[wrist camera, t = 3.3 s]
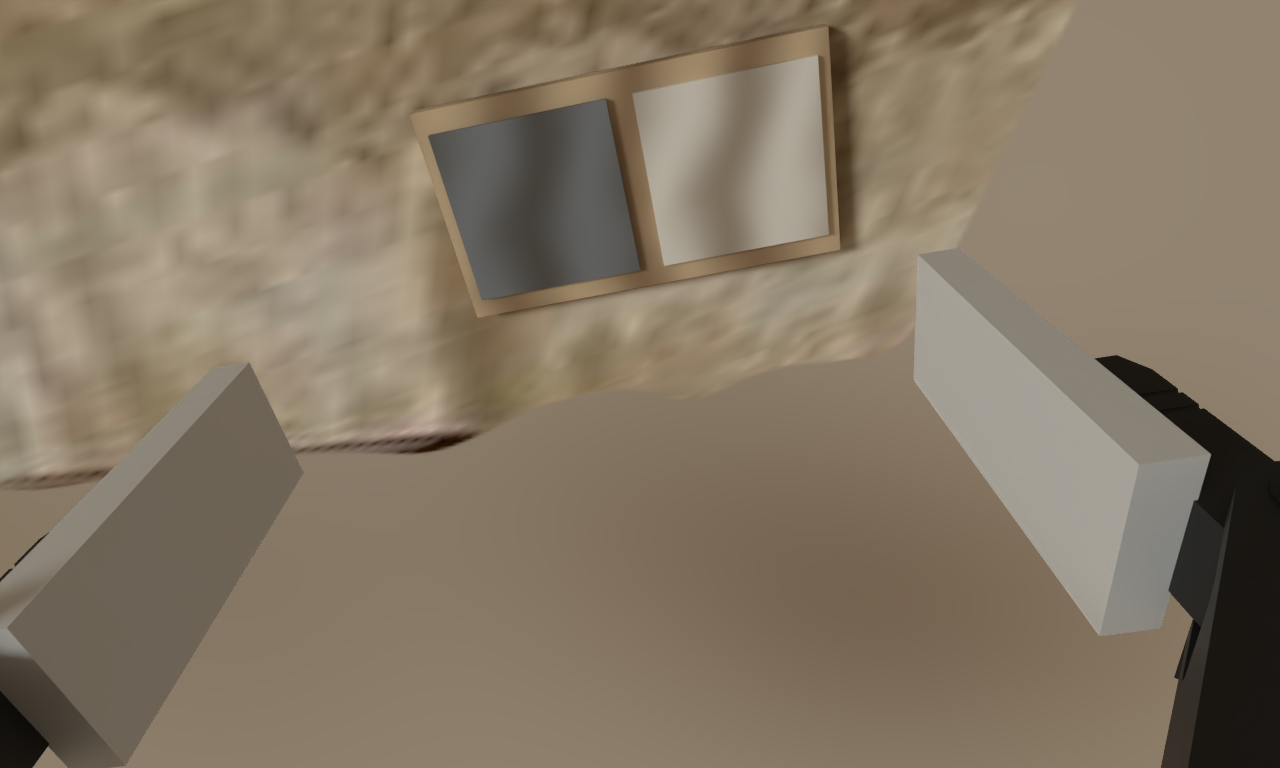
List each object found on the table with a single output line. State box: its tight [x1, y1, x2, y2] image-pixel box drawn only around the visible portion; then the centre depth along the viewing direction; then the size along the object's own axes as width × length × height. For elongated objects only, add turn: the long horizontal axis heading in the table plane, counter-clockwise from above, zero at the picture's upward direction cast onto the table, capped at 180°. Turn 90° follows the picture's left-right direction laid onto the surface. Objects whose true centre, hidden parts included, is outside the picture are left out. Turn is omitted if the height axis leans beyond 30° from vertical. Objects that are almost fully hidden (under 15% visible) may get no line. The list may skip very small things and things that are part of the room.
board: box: [409, 24, 840, 318], centre depth 41 cm, size 22×12×2 cm, turn 101°
